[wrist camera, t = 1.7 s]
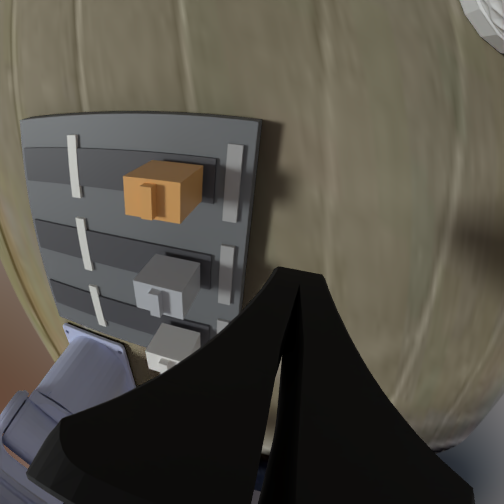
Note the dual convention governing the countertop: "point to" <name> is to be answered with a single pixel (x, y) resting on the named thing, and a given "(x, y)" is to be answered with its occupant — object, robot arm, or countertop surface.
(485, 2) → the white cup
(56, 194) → the control board
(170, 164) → the orange slider knob
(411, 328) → the countertop surface
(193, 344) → the cube with tab
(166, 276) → the cube with peg
